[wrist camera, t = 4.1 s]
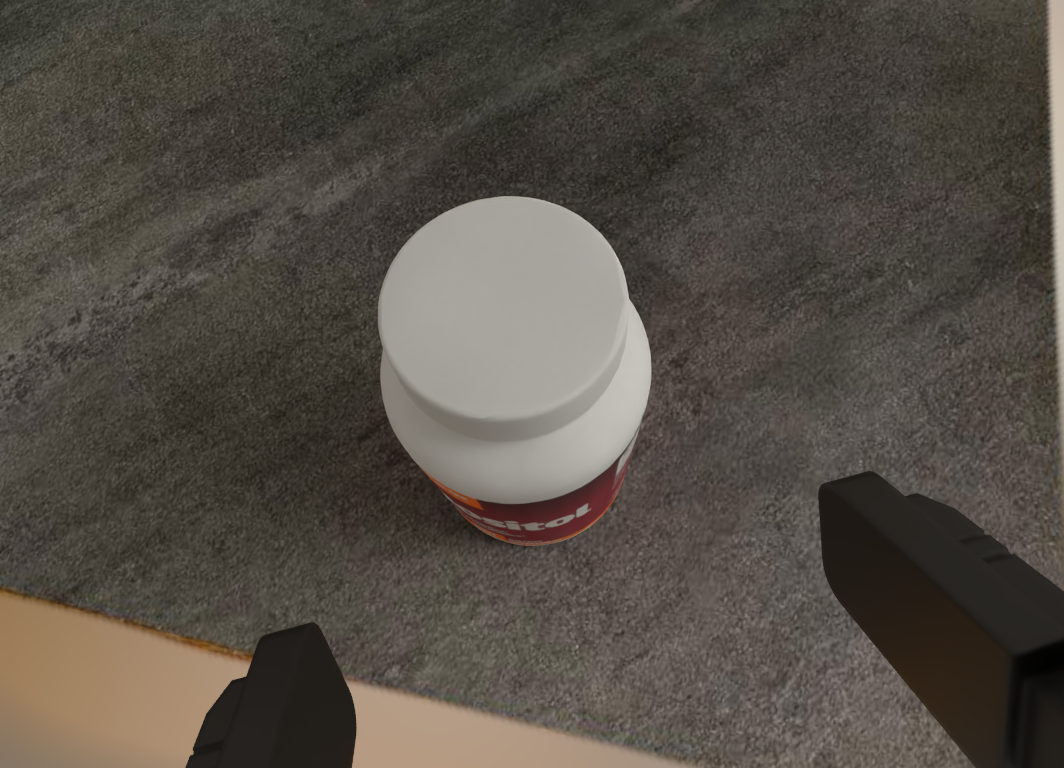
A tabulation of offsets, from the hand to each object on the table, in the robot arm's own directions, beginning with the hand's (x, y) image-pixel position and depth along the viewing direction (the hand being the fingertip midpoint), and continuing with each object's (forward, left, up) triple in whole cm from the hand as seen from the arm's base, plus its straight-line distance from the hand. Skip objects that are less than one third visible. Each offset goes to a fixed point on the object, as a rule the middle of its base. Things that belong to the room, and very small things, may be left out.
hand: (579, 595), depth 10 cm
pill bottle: (-3, -5, -11) cm, 12 cm away
